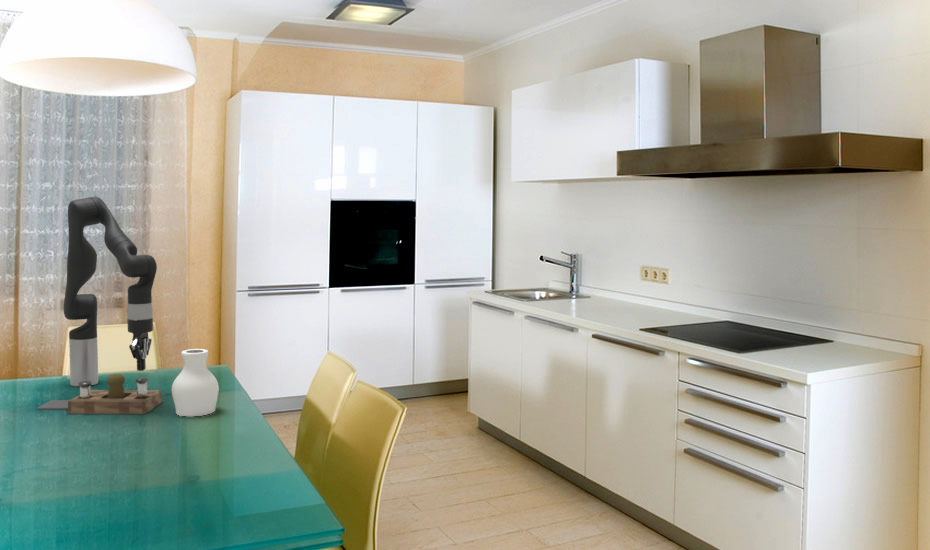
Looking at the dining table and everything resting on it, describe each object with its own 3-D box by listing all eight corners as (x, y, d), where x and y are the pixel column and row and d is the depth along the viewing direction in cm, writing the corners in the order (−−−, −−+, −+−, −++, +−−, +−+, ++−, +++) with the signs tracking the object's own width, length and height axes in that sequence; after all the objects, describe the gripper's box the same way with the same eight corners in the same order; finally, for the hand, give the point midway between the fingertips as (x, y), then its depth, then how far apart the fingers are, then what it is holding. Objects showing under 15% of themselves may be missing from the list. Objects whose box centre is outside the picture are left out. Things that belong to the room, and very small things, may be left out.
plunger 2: (138, 401, 248) (138, 377, 247) (150, 401, 248) (149, 377, 248) (133, 404, 244) (133, 379, 244) (146, 404, 245) (145, 379, 244)
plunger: (82, 405, 248) (81, 381, 247) (94, 405, 248) (93, 381, 247) (77, 408, 244) (76, 383, 243) (89, 408, 244) (88, 383, 243)
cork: (130, 405, 251) (129, 373, 250) (120, 410, 245) (119, 376, 244) (113, 405, 251) (112, 372, 250) (102, 409, 245) (101, 376, 245)
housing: (89, 401, 255) (89, 389, 255) (162, 402, 256) (161, 390, 256) (68, 413, 240) (67, 401, 240) (145, 413, 241) (145, 401, 241)
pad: (52, 401, 254) (52, 400, 254) (82, 402, 254) (82, 400, 254) (36, 409, 244) (36, 407, 244) (68, 409, 245) (68, 408, 244)
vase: (198, 404, 254) (197, 345, 252) (228, 410, 247) (227, 349, 245) (162, 413, 242) (161, 351, 240) (192, 420, 235) (191, 356, 233)
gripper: (136, 314, 250) (137, 366, 252) (119, 319, 237) (121, 374, 239) (159, 314, 251) (160, 366, 252) (144, 320, 238) (145, 374, 239)
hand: (141, 370), depth 245 cm, fingers closed
